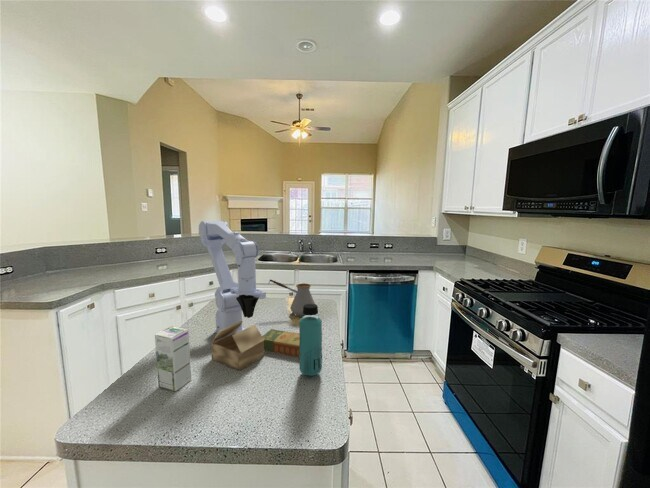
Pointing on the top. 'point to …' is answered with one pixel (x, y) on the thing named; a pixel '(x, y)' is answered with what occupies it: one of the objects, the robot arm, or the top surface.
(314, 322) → the beverage bottle
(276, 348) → the carton
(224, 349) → the cardboard box
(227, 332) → the flap
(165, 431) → the top surface
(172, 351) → the syrup box
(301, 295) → the coffee pot
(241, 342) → the flap
